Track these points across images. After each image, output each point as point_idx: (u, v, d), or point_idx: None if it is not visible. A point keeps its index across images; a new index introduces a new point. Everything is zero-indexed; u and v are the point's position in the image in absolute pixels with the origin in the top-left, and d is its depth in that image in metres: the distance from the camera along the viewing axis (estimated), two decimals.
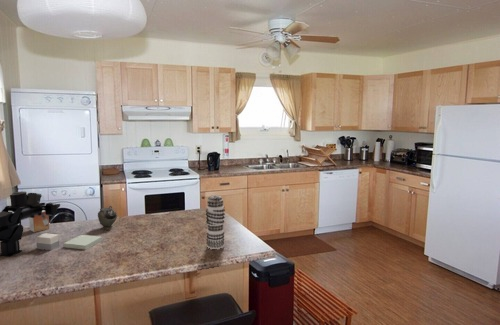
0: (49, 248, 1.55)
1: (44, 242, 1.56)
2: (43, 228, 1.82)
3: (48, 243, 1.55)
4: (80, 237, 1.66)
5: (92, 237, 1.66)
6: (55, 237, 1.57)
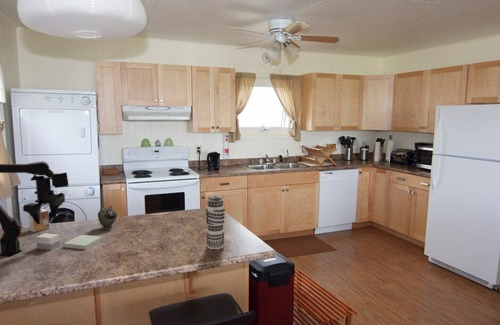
0: (49, 248, 1.55)
1: (44, 242, 1.56)
2: (43, 228, 1.82)
3: (48, 243, 1.55)
4: (80, 237, 1.66)
5: (92, 237, 1.66)
6: (55, 237, 1.57)
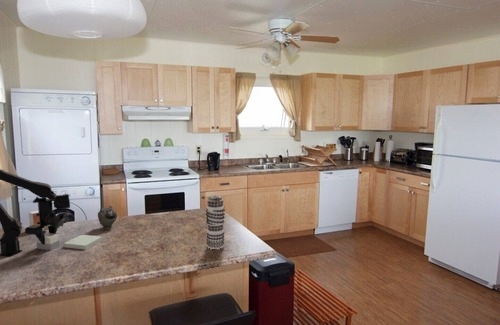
0: (49, 248, 1.55)
1: None
2: None
3: (48, 243, 1.55)
4: (80, 237, 1.66)
5: (92, 237, 1.66)
6: (55, 237, 1.57)
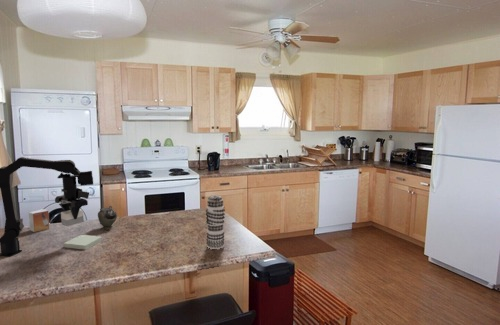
0: (81, 220, 1.62)
1: None
2: (43, 228, 1.82)
3: (80, 216, 1.61)
4: (80, 237, 1.66)
5: (92, 237, 1.66)
6: None
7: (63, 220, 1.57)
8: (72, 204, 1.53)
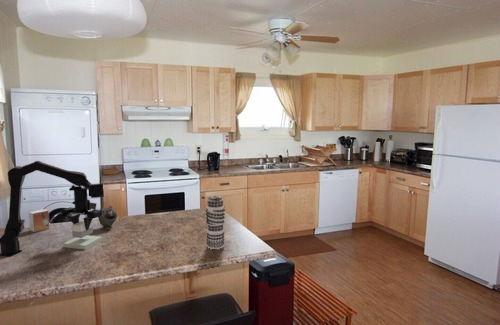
0: (91, 231, 1.65)
1: None
2: (43, 228, 1.82)
3: (90, 226, 1.64)
4: None
5: (92, 237, 1.66)
6: None
7: (75, 232, 1.59)
8: (89, 215, 1.57)
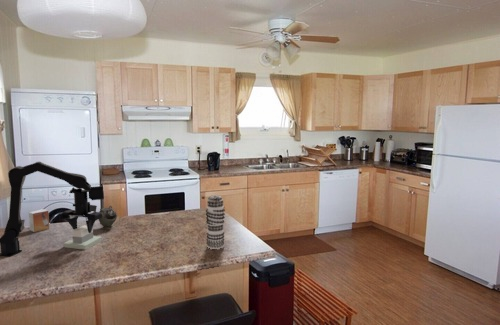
0: (91, 236, 1.65)
1: (88, 233, 1.63)
2: (43, 228, 1.82)
3: (91, 232, 1.65)
4: None
5: None
6: None
7: (76, 237, 1.59)
8: (89, 218, 1.57)
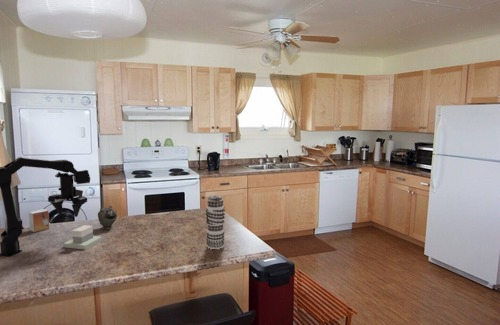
0: (91, 236, 1.65)
1: (88, 233, 1.63)
2: (43, 228, 1.82)
3: (91, 232, 1.65)
4: None
5: None
6: None
7: (76, 237, 1.59)
8: (74, 201, 1.60)
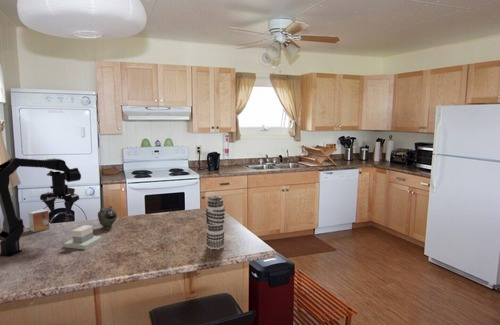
0: (91, 236, 1.65)
1: (88, 233, 1.63)
2: (43, 228, 1.82)
3: (91, 232, 1.65)
4: None
5: None
6: None
7: (76, 237, 1.59)
8: (66, 199, 1.63)
